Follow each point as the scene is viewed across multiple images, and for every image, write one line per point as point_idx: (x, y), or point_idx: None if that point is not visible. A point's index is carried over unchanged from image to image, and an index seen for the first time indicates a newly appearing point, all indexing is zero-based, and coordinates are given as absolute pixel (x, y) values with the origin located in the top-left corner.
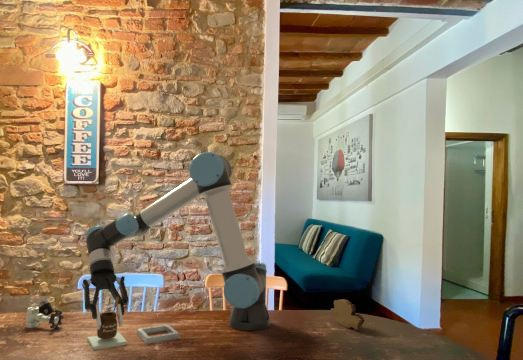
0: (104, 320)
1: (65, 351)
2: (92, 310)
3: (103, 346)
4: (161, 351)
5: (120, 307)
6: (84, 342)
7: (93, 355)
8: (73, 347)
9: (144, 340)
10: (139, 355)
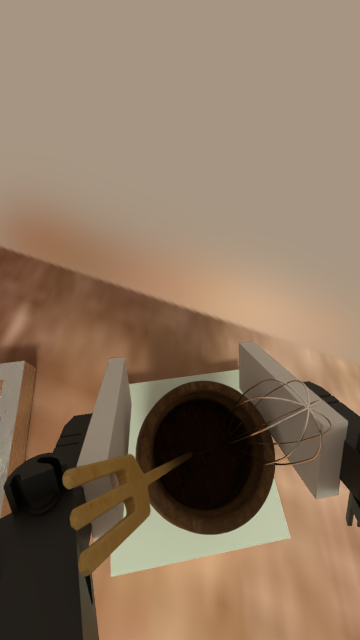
0: (224, 396)
1: (342, 395)
2: (356, 414)
3: (205, 375)
4: (23, 285)
5: (91, 429)
6: (291, 495)
7: (235, 324)
8: None
9: (29, 398)
10: (98, 279)
